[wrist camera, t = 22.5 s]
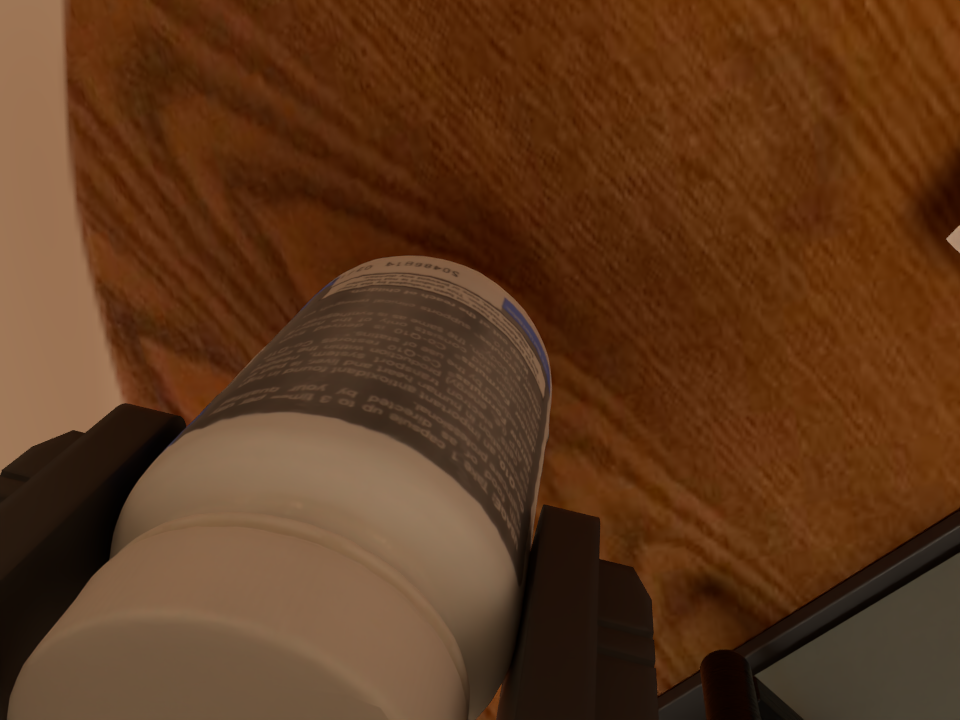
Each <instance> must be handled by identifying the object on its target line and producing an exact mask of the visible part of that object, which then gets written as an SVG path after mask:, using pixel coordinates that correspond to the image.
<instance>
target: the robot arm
mask: <svg viewBox="0 0 960 720" xmlns="http://www.w3.org/2000/svg"><path fill="white" fill-rule="evenodd" d="M185 428H186V424H185V421H184V419H183V418H182V417H181V416H177V415H173V414H169V413H165V412H161V411H156V410H152V409H148V408H144V407H140V406H136V405H131V404H127V403H125V404H121V405H119V406H118V407H116V408H115V409H114V410H113V411H111V412H110V413H109V414H108V415H106V416H105V417H104V418H103V419H102V420H100V421H99V422H98V423H97V424H95V425H94V426H93V427H92V428H91V429H90V430H88V431H87V432H86V433H83V432H78V431H75V430H73V431H70V432H68V433H65V434H63V435H60V436H58V437H56V438H53V439H50V440H48V441H45V442H43V443H41V444H38V445H35V446H33V447H31V448H30V449H29V450H27V451H26V452H25V453H23V454H22V455H21V456H20V457H19V458H17V459H16V460H14V461H13V462H12V463H11V464H9V465H8V466H7V467H5V468H4V469H3V470H2V472H1V475H0V720H7V714H8V706H9V699H10V695H11V692H12V690H13V687H14V685H15V682H16V679H17V677H18V675H19V673H20V671H21V669H22V667H23V665H24V663H25V662H26V660H27V659H28V658H29V656H30V655H31V654H32V652H33V651H34V650H35V648H36V647H37V646H38V644H39V643H40V642H41V641H42V640H43V638H44V637H45V636H46V635H47V633H48V632H49V631H50V630H51V629H52V627H53V626H54V625H55V624H56V623H57V621H58V620H59V619H60V618H61V617H62V615H63V614H64V613H65V612H66V610H67V609H68V608H69V607H70V605H71V604H72V603H73V602H74V601H75V599H76V598H77V596H78V595H79V594H80V592H81V591H82V589H83V588H84V587H85V585H86V584H87V582H88V581H89V580H90V578H91V577H92V576H93V575H94V574H95V573H96V572H97V571H98V570H99V569H100V568H101V567H102V566H103V565H105V564H106V563H107V562H108V561H109V558H110V551H111V543H112V538H113V532H114V529H115V526H116V523H117V520H118V518H119V515H120V512H121V510H122V507H123V505H124V503H125V502H126V500H127V498H128V496H129V494H130V492H131V491H132V489H133V488H134V486H135V485H136V483H137V482H138V480H139V479H140V478H141V476H142V475H143V474H144V473H145V471H146V470H147V469H148V468H149V467H150V465H151V464H152V463H153V462H154V461H155V460H156V459H157V457H158V456H159V455H160V454H161V453H162V452H163V451H164V450H165V449H166V447H167V446H168V445H169V444H170V443H171V442H172V441H173V440H174V439H175V438H176V437H177V436H178V435H179V434H180V433H181V432H182V431H183V430H184V429H185ZM599 545H600V519H599V518H598V517H594V516H590V515H586V514H582V513H577V512H573V511H569V510H565V509H561V508H557V507H552V506H548V505H543V507H542V510H541V513H540V517H539V521H538V525H537V528H536V532H535V536H534V540H533V544H532V548H531V551H530V557H529V566H528V573H527V580H526V587H525V593H524V600H523V607H522V614H521V620H520V626H519V632H518V636H517V642H516V646H515V651H514V655H513V658H512V661H511V664H510V667H509V669H508V671H507V673H506V676H505V678H504V680H503V682H502V687H501V693H500V700H499V706H498V712H497V718H496V720H659V713H658V697H657V680H656V668H654V664H655V648H654V640H653V633H654V632H653V616H652V600H651V598H650V596H649V594H648V593H647V591H646V589H645V587H644V586H643V584H642V582H641V580H640V579H639V577H638V575H637V573H636V572H635V570H634V568H633V567H630V566H626V565H622V564H617V563H613V562H609V561H605V560H601V559H599Z"/></svg>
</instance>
